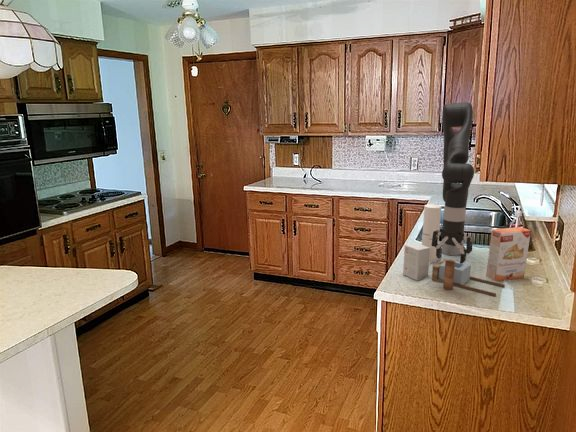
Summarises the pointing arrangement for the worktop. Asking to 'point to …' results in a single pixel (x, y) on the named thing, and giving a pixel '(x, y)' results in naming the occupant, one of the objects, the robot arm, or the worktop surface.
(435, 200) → the worktop surface
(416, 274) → the small box
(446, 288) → the dowel
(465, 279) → the grey square collar
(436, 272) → the track
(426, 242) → the cylindrical container
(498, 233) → the cracker box
